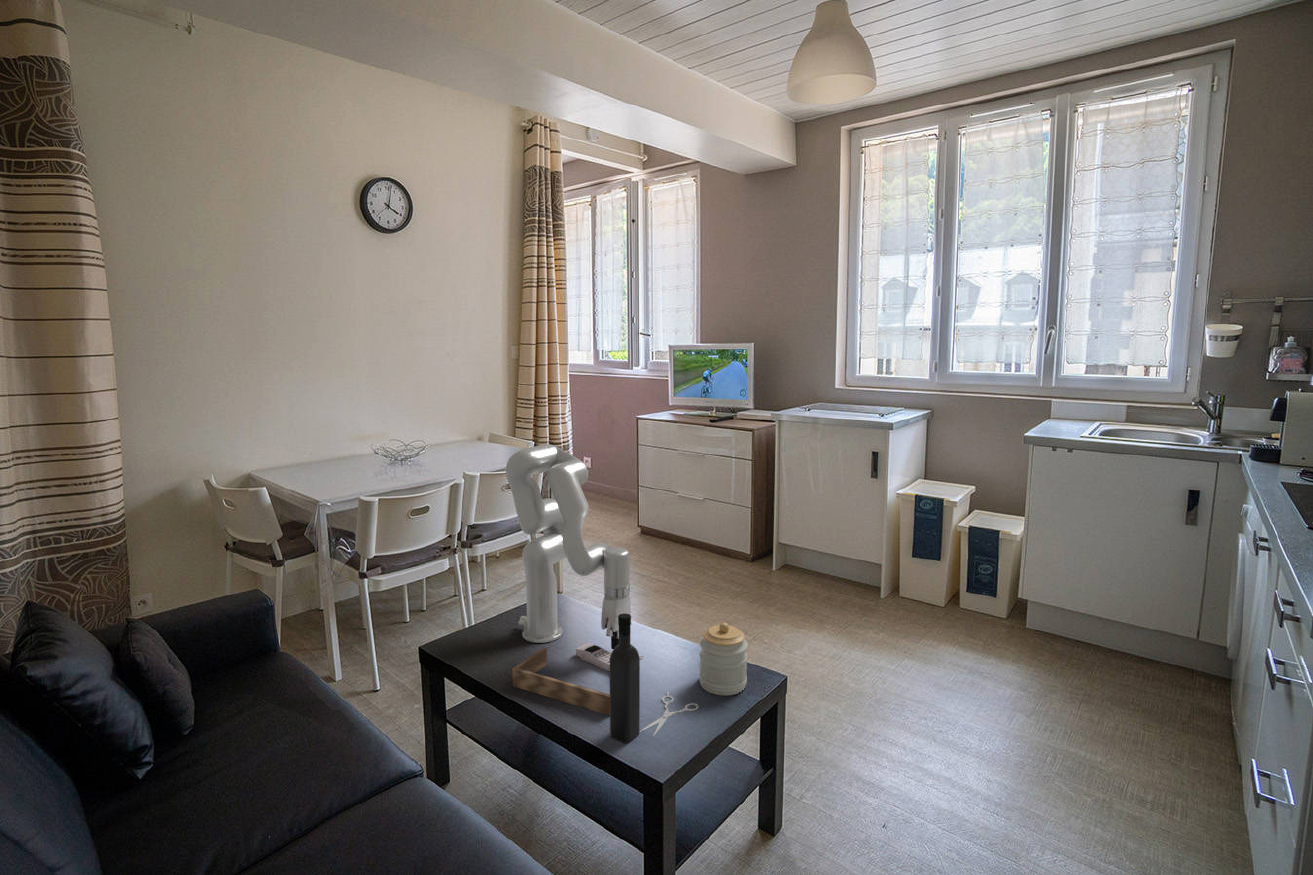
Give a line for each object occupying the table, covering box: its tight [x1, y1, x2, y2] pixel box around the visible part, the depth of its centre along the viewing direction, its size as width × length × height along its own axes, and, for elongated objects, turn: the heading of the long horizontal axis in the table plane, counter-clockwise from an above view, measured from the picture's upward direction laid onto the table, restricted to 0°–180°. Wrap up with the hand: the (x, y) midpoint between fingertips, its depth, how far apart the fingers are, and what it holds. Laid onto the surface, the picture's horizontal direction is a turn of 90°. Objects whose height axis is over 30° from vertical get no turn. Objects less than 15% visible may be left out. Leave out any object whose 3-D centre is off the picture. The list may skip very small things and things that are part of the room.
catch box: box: [511, 647, 610, 716], centre depth 181 cm, size 31×14×5 cm, turn 63°
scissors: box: [639, 691, 699, 737], centre depth 168 cm, size 11×1×20 cm
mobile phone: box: [575, 642, 644, 673], centre depth 194 cm, size 6×6×25 cm
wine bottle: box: [609, 613, 641, 744], centre depth 158 cm, size 6×6×30 cm
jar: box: [698, 622, 749, 696], centre depth 182 cm, size 13×13×18 cm
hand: (617, 648), depth 200 cm, fingers closed
